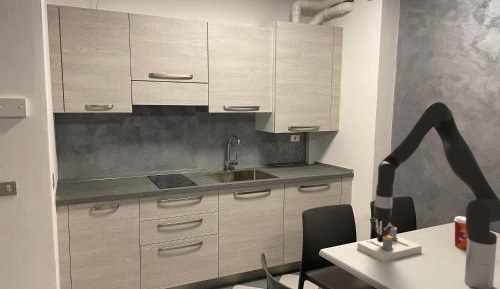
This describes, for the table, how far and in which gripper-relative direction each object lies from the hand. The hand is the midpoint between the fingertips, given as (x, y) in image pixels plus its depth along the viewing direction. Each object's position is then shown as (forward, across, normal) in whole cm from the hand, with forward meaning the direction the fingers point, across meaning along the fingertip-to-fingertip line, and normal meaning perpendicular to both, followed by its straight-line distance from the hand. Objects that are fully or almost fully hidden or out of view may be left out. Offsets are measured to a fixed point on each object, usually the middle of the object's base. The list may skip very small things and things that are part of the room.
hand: (380, 241), depth 168 cm
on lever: (+2, +4, -12) cm, 13 cm away
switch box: (+5, 0, -6) cm, 8 cm away
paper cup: (+5, -12, -42) cm, 44 cm away
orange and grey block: (+2, -4, 0) cm, 5 cm away
